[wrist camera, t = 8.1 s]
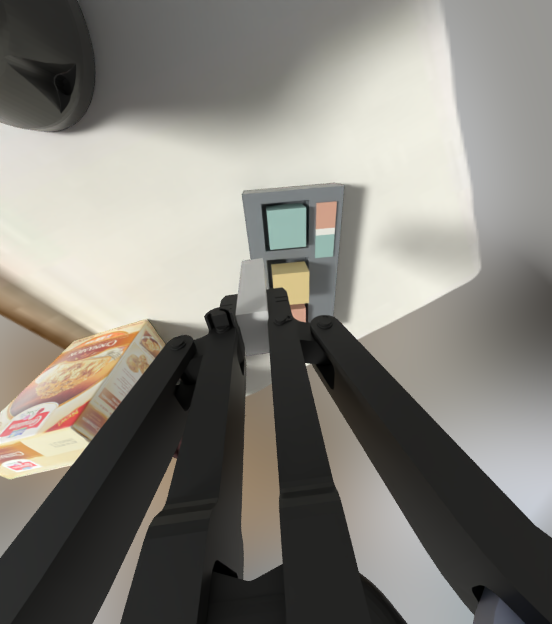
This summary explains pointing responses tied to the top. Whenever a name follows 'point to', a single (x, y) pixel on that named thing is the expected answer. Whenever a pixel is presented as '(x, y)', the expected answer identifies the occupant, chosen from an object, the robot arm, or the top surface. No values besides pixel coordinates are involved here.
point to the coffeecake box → (73, 399)
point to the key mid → (292, 280)
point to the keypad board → (319, 237)
